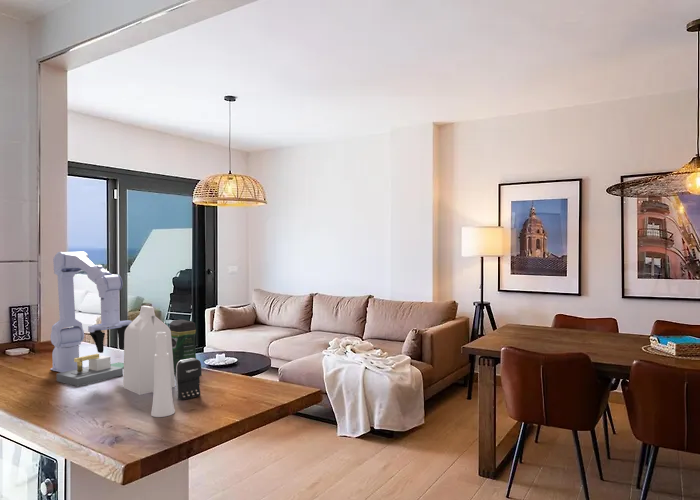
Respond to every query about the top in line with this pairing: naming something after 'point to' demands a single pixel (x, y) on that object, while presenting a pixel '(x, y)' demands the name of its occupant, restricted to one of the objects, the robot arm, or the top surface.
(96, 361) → the white square block
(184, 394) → the battery charger
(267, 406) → the top surface
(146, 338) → the milk
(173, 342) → the coffee jar
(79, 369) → the brass lever handle
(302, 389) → the top surface
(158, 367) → the cosmetic bottle
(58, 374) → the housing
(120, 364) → the mat
